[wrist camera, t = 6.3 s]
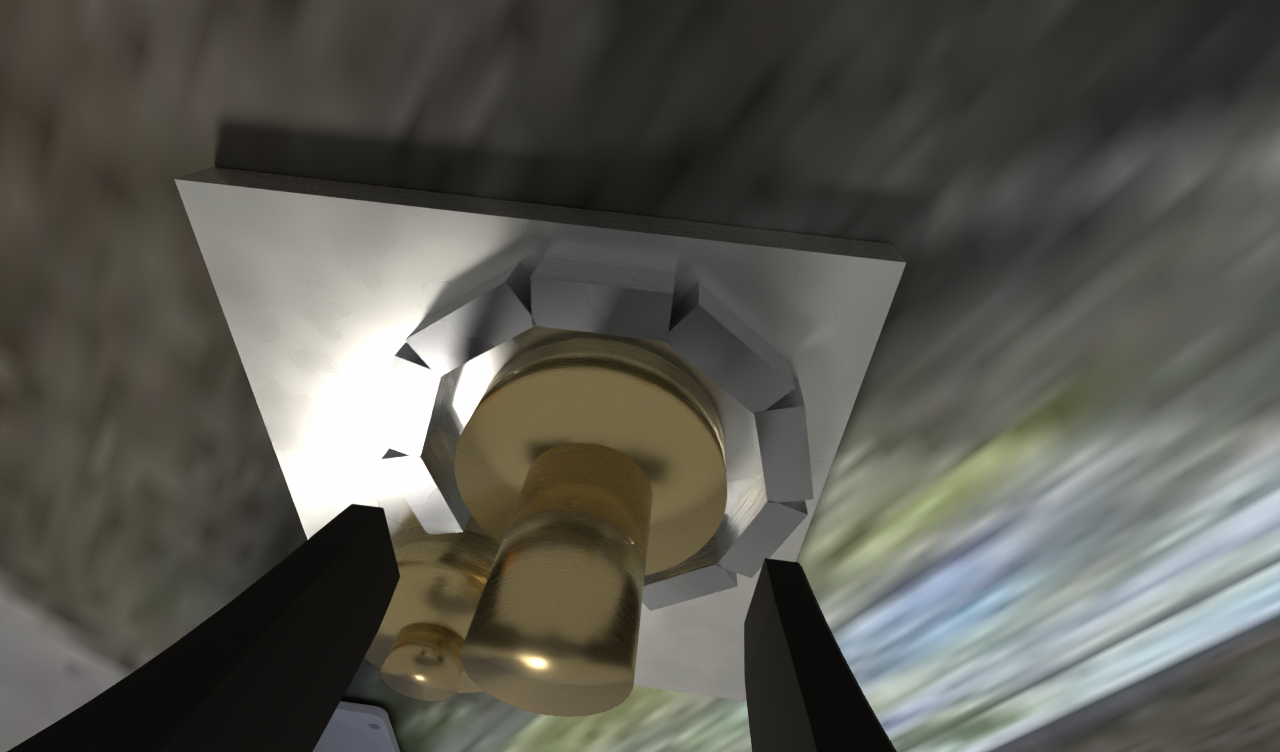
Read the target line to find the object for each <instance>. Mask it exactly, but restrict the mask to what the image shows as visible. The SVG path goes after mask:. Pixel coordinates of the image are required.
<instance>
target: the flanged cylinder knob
mask: <svg viewBox="0 0 1280 752" xmlns="http://www.w3.org/2000/svg"><path fill="white" fill-rule="evenodd" d="M454 469H455V477H456V482H457V487H458V489H459V492H460V495H461V497H462V500H463V501H464V503H465V505H466V507H467V508H468V510H469V512H470V513H471V514H472V516H473V517H474V519H475V520H476V521H477V523H478V524H479V525H480V526H481V527H482V528H483V529H484V530H485V531H486V532H487V533H488V534H489V535H490V536H491V537H493V538H494V539H495V540H496V541H497V542H499V543H500V547H499V550H498V552H497V555H496V558H495V560H494V563H493V566H492V568H491V571H490V574H489V576H488V579H487V582H486V584H485V587H484V590H483V592H482V595H481V597H480V600H479V603H478V605H477V608H476V611H475V613H474V616H473V619H472V621H471V624H470V627H469V629H468V632H467V635H466V637H465V640H464V643H463V645H462V648H461V653H460V654H461V662H462V666H463V668H464V670H465V672H466V673H467V675H468V676H469V678H470V679H471V680H472V681H473V682H474V683H475V684H476V685H477V686H478V687H480V688H481V689H482V690H483V691H485V692H486V693H488V694H489V695H491V696H493V697H494V698H496V699H498V700H500V701H502V702H504V703H506V704H509V705H511V706H514V707H517V708H520V709H523V710H526V711H530V712H534V713H539V714H545V715H552V716H566V717H571V716H586V715H592V714H597V713H601V712H604V711H607V710H610V709H612V708H614V707H616V706H618V705H619V704H621V703H622V702H623V701H624V700H625V699H626V698H627V697H628V696H629V695H630V693H631V691H632V689H633V685H634V677H635V667H636V657H637V647H638V638H639V628H640V618H641V608H642V598H643V588H644V578H645V576H646V575H649V574H653V573H657V572H660V571H663V570H666V569H668V568H671V567H673V566H675V565H677V564H679V563H681V562H683V561H685V560H686V559H688V558H689V557H691V556H692V555H694V554H695V553H697V552H698V551H699V550H700V549H701V548H702V547H703V546H704V545H705V544H706V543H707V542H708V541H709V540H710V539H711V537H712V536H713V535H714V534H715V532H716V530H717V528H718V527H719V525H720V523H721V521H722V518H723V515H724V512H725V509H726V502H727V475H726V456H725V438H724V433H723V428H722V424H721V421H720V419H719V416H718V413H717V411H716V409H715V408H714V406H713V404H712V402H711V401H710V399H709V398H708V396H707V395H706V394H705V392H704V391H703V390H702V389H701V387H700V386H699V385H698V384H697V383H696V382H695V381H694V380H693V379H692V378H691V377H690V376H689V375H687V374H686V373H685V372H683V371H682V370H681V369H679V368H678V367H677V366H675V365H674V364H672V363H670V362H669V361H667V360H665V359H664V358H662V357H660V356H658V355H656V354H654V353H651V352H649V351H647V350H644V349H642V348H638V347H635V346H632V345H629V344H625V343H620V342H615V341H609V340H599V339H572V340H565V341H559V342H553V343H550V344H546V345H543V346H540V347H537V348H534V349H532V350H530V351H528V352H526V353H524V354H522V355H520V356H519V357H517V358H515V359H514V360H512V361H511V362H509V363H508V364H507V365H506V366H505V367H504V368H503V369H501V370H500V371H499V372H498V373H497V375H496V376H495V377H494V378H493V380H492V381H491V382H490V383H489V385H488V387H487V389H486V391H485V392H484V394H483V396H482V398H481V399H480V401H479V403H478V405H477V406H476V408H475V410H474V412H473V413H472V415H471V417H470V419H469V420H468V422H467V424H466V426H465V428H464V429H463V431H462V433H461V435H460V437H459V440H458V443H457V446H456V451H455V458H454Z"/></svg>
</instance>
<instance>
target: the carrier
mask: <svg viewBox="0 0 1280 752" xmlns="http://www.w3.org/2000/svg"><path fill="white" fill-rule="evenodd" d="M175 182H176V185H177V187H178V190H179V193H180V195H181V198H182V201H183V203H184V206H185V209H186V212H187V214H188V217H189V220H190V222H191V225H192V228H193V231H194V233H195V236H196V239H197V241H198V244H199V247H200V249H201V252H202V255H203V258H204V260H205V263H206V266H207V268H208V271H209V274H210V277H211V279H212V282H213V285H214V287H215V290H216V293H217V296H218V298H219V301H220V304H221V306H222V309H223V312H224V314H225V317H226V320H227V323H228V325H229V328H230V331H231V333H232V336H233V339H234V342H235V344H236V347H237V350H238V352H239V355H240V358H241V360H242V363H243V366H244V369H245V371H246V374H247V377H248V379H249V382H250V385H251V388H252V390H253V393H254V396H255V398H256V401H257V404H258V406H259V409H260V412H261V415H262V417H263V420H264V423H265V425H266V428H267V431H268V434H269V436H270V439H271V442H272V444H273V447H274V450H275V452H276V455H277V458H278V461H279V463H280V466H281V469H282V471H283V474H284V477H285V480H286V482H287V485H288V488H289V490H290V493H291V496H292V499H293V501H294V504H295V507H296V509H297V512H298V515H299V517H300V520H301V523H302V526H303V528H304V531H305V534H306V536H307V539H309V538H310V537H312V536H313V535H314V534H315V533H316V532H318V531H319V530H320V529H321V528H322V527H324V526H325V525H326V524H327V523H329V522H330V521H331V520H332V519H333V518H335V517H336V516H337V515H338V514H340V513H341V512H342V511H343V510H345V509H346V508H347V507H348V506H350V505H351V504H359V505H366V506H374V507H381V508H384V512H385V516H386V520H387V524H388V528H389V532H390V536H391V541H392V545H393V549H394V553H395V557H396V561H397V565H398V569H399V573H400V578H399V581H398V584H397V586H396V589H395V591H394V594H393V596H392V599H391V602H390V604H389V607H388V609H387V611H386V614H385V616H384V619H383V621H382V623H381V626H380V628H379V630H378V632H377V634H376V636H375V638H374V640H373V642H372V644H371V646H370V647H369V649H368V651H367V653H366V655H365V657H364V658H365V659H366V660H368V661H369V662H370V663H372V664H373V665H375V666H376V667H378V668H379V669H381V671H380V674H381V677H382V679H383V681H384V682H385V683H386V684H387V685H388V686H389V687H390V688H392V689H393V690H395V691H396V692H398V693H400V694H402V695H405V696H407V697H410V698H413V699H417V700H422V701H443V700H446V699H449V698H451V697H452V696H453V695H454V694H455V693H478V692H485V691H483V690H482V689H481V688H480V687H478V686H477V685H476V684H475V683H474V682H473V681H472V680H471V679H470V678H469V676H468V675H467V673H466V672H465V670H464V668H463V666H462V662H461V654H460V653H461V648H462V645H463V643H464V640H465V637H466V635H467V632H468V629H469V627H470V624H471V621H472V619H473V616H474V613H475V611H476V608H477V605H478V603H479V600H480V597H481V595H482V592H483V590H484V587H485V584H486V582H487V579H488V576H489V574H490V571H491V568H492V566H493V563H494V560H495V558H496V555H497V552H498V550H499V547H500V543H499V542H497V541H496V540H495V539H494V538H493V537H491V536H490V535H489V534H488V533H487V532H486V531H485V530H484V529H483V528H482V527H481V526H480V525H479V524H478V523H477V521H476V520H475V519H474V517H473V516H472V514H471V513H470V512H469V510H468V508H467V507H466V505H465V503H464V501H463V500H462V497H461V495H460V492H459V489H458V487H457V482H456V477H455V469H454V458H455V451H456V446H457V443H458V440H459V437H460V435H461V433H462V431H463V429H464V428H465V426H466V424H467V422H468V420H469V419H470V417H471V415H472V413H473V412H474V410H475V408H476V406H477V405H478V403H479V401H480V399H481V398H482V396H483V394H484V392H485V391H486V389H487V387H488V385H489V383H490V382H491V381H492V380H493V378H494V377H495V376H496V375H497V373H498V372H499V371H500V370H501V369H503V368H504V367H505V366H506V365H507V364H508V363H509V362H511V361H512V360H514V359H515V358H517V357H519V356H520V355H522V354H524V353H526V352H528V351H530V350H532V349H534V348H537V347H540V346H543V345H546V344H550V343H553V342H559V341H565V340H572V339H599V340H609V341H615V342H620V343H625V344H629V345H632V346H635V347H638V348H642V349H644V350H647V351H649V352H651V353H654V354H656V355H658V356H660V357H662V358H664V359H665V360H667V361H669V362H670V363H672V364H674V365H675V366H677V367H678V368H679V369H681V370H682V371H683V372H685V373H686V374H687V375H689V376H690V377H691V378H692V379H693V380H694V381H695V382H696V383H697V384H698V385H699V386H700V387H701V389H702V390H703V391H704V392H705V394H706V395H707V396H708V398H709V399H710V401H711V402H712V404H713V406H714V408H715V409H716V411H717V413H718V416H719V419H720V421H721V424H722V428H723V433H724V438H725V456H726V475H727V502H726V509H725V512H724V515H723V518H722V521H721V523H720V525H719V527H718V528H717V530H716V532H715V534H714V535H713V536H712V537H711V539H710V540H709V541H708V542H707V543H706V544H705V545H704V546H703V547H702V548H701V549H700V550H699V551H698V552H697V553H695V554H694V555H692V556H691V557H689V558H688V559H686V560H685V561H683V562H681V563H679V564H677V565H675V566H673V567H671V568H668V569H666V570H663V571H660V572H657V573H653V574H649V575H646V576H645V578H644V588H643V598H642V608H641V618H640V628H639V638H638V647H637V657H636V667H635V677H634V686H641V687H648V688H656V689H663V690H670V691H677V692H684V693H691V694H698V695H706V696H713V697H720V698H727V699H734V700H741V701H745V698H746V689H745V675H744V622H745V618H746V615H747V612H748V609H749V606H750V603H751V600H752V597H753V593H754V590H755V587H756V584H757V581H758V578H759V575H760V572H761V568H762V565H763V562H764V559H765V558H768V559H776V560H784V561H791V562H796V560H797V557H798V554H799V552H800V549H801V546H802V544H803V541H804V538H805V536H806V533H807V530H808V527H809V525H810V522H811V519H812V517H813V514H814V511H815V508H816V506H817V503H818V500H819V498H820V495H821V492H822V490H823V487H824V484H825V481H826V479H827V476H828V473H829V471H830V468H831V465H832V462H833V460H834V457H835V454H836V452H837V449H838V446H839V444H840V441H841V438H842V435H843V433H844V430H845V427H846V425H847V422H848V419H849V416H850V414H851V411H852V408H853V406H854V403H855V400H856V398H857V395H858V392H859V389H860V387H861V384H862V381H863V379H864V376H865V373H866V371H867V368H868V365H869V362H870V360H871V357H872V354H873V352H874V349H875V346H876V343H877V341H878V338H879V335H880V333H881V330H882V327H883V325H884V322H885V319H886V316H887V314H888V311H889V308H890V306H891V303H892V300H893V297H894V295H895V292H896V289H897V287H898V284H899V281H900V279H901V276H902V273H903V270H904V268H905V265H906V262H905V260H904V259H903V258H902V257H901V255H900V254H899V253H898V252H897V250H896V249H895V248H894V247H893V245H892V244H889V243H880V242H872V241H863V240H854V239H845V238H836V237H827V236H819V235H810V234H801V233H792V232H783V231H774V230H765V229H757V228H748V227H739V226H730V225H721V224H712V223H704V222H695V221H686V220H677V219H668V218H659V217H651V216H642V215H633V214H624V213H615V212H606V211H597V210H589V209H580V208H571V207H562V206H553V205H544V204H536V203H527V202H518V201H509V200H500V199H491V198H482V197H474V196H465V195H456V194H447V193H438V192H429V191H421V190H412V189H403V188H394V187H385V186H376V185H368V184H359V183H350V182H341V181H332V180H323V179H314V178H306V177H297V176H288V175H279V174H270V173H261V172H253V171H244V170H235V169H226V168H217V167H211V168H208V169H205V170H201V171H198V172H195V173H192V174H189V175H186V176H183V177H180V178H177V179H175Z"/></svg>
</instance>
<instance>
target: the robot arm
mask: <svg viewBox="0 0 1280 752" xmlns="http://www.w3.org/2000/svg"><path fill="white" fill-rule="evenodd" d="M399 578H400V573H399V569H398V565H397V561H396V557H395V553H394V549H393V545H392V541H391V536H390V532H389V528H388V524H387V520H386V516H385V512H384V508H381V507H374V506H366V505H359V504H351V505H350V506H348V507H347V508H346V509H345V510H343V511H342V512H341V513H340V514H338V515H337V516H336V517H335V518H333V519H332V520H331V521H330V522H329V523H327V524H326V525H325V526H324V527H322V528H321V529H320V530H319V531H318V532H316V533H315V534H314V535H313V536H312V537H310V538H309V539H308V540H307V541H306V542H304V543H303V544H302V545H301V546H299V547H298V548H297V549H296V550H295V551H293V552H292V553H291V554H290V555H288V556H287V557H286V558H285V559H284V560H282V561H281V562H280V563H279V564H277V565H276V566H275V567H274V568H272V569H271V570H270V571H269V572H267V573H266V574H265V575H264V576H262V577H261V578H260V579H259V580H257V581H256V582H255V583H254V584H252V585H251V586H250V587H249V588H247V589H246V590H245V591H243V592H242V593H241V594H240V595H238V596H237V597H236V598H235V599H233V600H232V601H231V602H229V603H228V604H227V605H226V606H224V607H223V608H222V609H220V610H219V611H218V612H216V613H215V614H214V615H212V616H211V617H209V618H208V619H207V620H205V621H204V622H203V623H201V624H200V625H199V626H197V627H196V628H195V629H193V630H192V631H191V632H189V633H188V634H187V635H185V636H184V637H182V638H181V639H180V640H178V641H177V642H176V643H174V644H173V645H172V646H170V647H169V648H167V649H166V650H165V651H163V652H162V653H160V654H159V655H157V656H156V657H155V658H153V659H152V660H150V661H149V662H147V663H146V664H145V665H143V666H142V667H140V668H139V669H137V670H136V671H134V672H133V673H131V674H130V675H128V676H127V677H125V678H124V679H122V680H121V681H119V682H118V683H116V684H115V685H113V686H112V687H110V688H109V689H107V690H106V691H104V692H103V693H101V694H100V695H98V696H97V697H95V698H94V699H92V700H91V701H89V702H87V703H86V704H84V705H83V706H81V707H80V708H78V709H76V710H75V711H73V712H72V713H70V714H68V715H67V716H65V717H63V718H62V719H60V720H59V721H57V722H55V723H54V724H52V725H51V726H49V727H47V728H46V729H44V730H42V731H41V732H39V733H37V734H36V735H34V736H32V737H31V738H29V739H27V740H26V741H24V742H22V743H21V744H19V745H17V746H16V747H14V748H12V749H11V750H9V751H7V752H400V749H399V746H398V743H397V740H396V737H395V734H394V731H393V729H392V726H391V723H390V720H389V717H388V714H387V712H386V710H384V709H383V708H380V707H377V706H372V705H365V704H358V703H351V702H344V701H341V699H342V697H343V695H344V694H345V692H346V690H347V688H348V686H349V684H350V683H351V681H352V679H353V677H354V675H355V673H356V672H357V670H358V668H359V666H360V664H361V662H362V660H363V659H364V657H365V655H366V653H367V651H368V649H369V647H370V646H371V644H372V642H373V640H374V638H375V636H376V634H377V632H378V630H379V628H380V626H381V623H382V621H383V619H384V616H385V614H386V611H387V609H388V607H389V604H390V602H391V599H392V596H393V594H394V591H395V589H396V586H397V584H398V581H399ZM744 675H745V689H746V699H747V708H748V717H749V726H750V735H751V744H752V752H897V751H896V750H895V748H894V746H893V745H892V743H891V741H890V740H889V738H888V736H887V734H886V733H885V731H884V729H883V728H882V726H881V724H880V723H879V721H878V719H877V717H876V716H875V714H874V712H873V710H872V708H871V707H870V705H869V703H868V701H867V699H866V698H865V696H864V694H863V692H862V690H861V688H860V686H859V685H858V683H857V681H856V679H855V677H854V675H853V673H852V671H851V670H850V668H849V666H848V664H847V662H846V660H845V658H844V656H843V654H842V652H841V650H840V648H839V646H838V644H837V642H836V640H835V638H834V636H833V634H832V632H831V630H830V628H829V626H828V624H827V622H826V620H825V618H824V616H823V613H822V611H821V609H820V607H819V605H818V603H817V600H816V598H815V596H814V594H813V591H812V589H811V587H810V585H809V582H808V580H807V578H806V575H805V573H804V570H803V568H802V567H801V565H800V564H799V563H798V562H791V561H784V560H776V559H768V558H765V559H764V562H763V565H762V568H761V572H760V575H759V578H758V581H757V584H756V587H755V590H754V593H753V597H752V600H751V603H750V606H749V609H748V612H747V615H746V618H745V622H744Z"/></svg>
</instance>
